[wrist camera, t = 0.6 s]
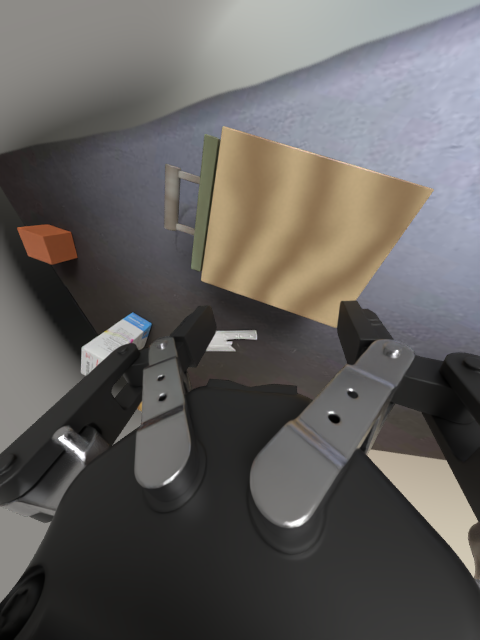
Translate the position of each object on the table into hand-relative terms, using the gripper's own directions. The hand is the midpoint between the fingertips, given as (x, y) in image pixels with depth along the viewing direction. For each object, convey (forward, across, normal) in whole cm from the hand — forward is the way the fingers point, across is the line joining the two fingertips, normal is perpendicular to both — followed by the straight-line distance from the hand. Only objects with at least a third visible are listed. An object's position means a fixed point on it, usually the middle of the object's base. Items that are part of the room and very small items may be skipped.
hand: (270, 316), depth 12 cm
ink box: (+18, +32, +14) cm, 39 cm away
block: (+18, +39, -6) cm, 43 cm away
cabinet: (+18, -1, -2) cm, 18 cm away
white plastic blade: (+18, +13, +16) cm, 27 cm away
